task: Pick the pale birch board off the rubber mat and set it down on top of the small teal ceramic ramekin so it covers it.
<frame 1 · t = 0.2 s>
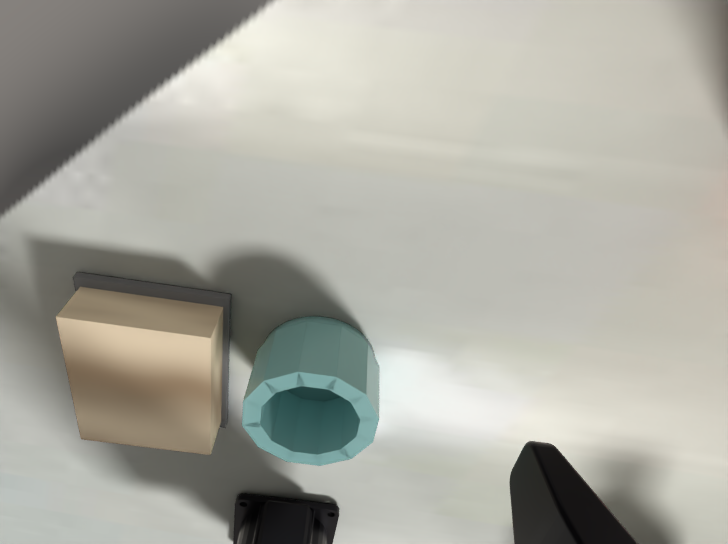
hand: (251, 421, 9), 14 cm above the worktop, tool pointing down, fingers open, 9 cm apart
board: (157, 360, 27), resting on mat
mat: (159, 354, 27), on the worktop
ramekin: (318, 360, 27), on the worktop
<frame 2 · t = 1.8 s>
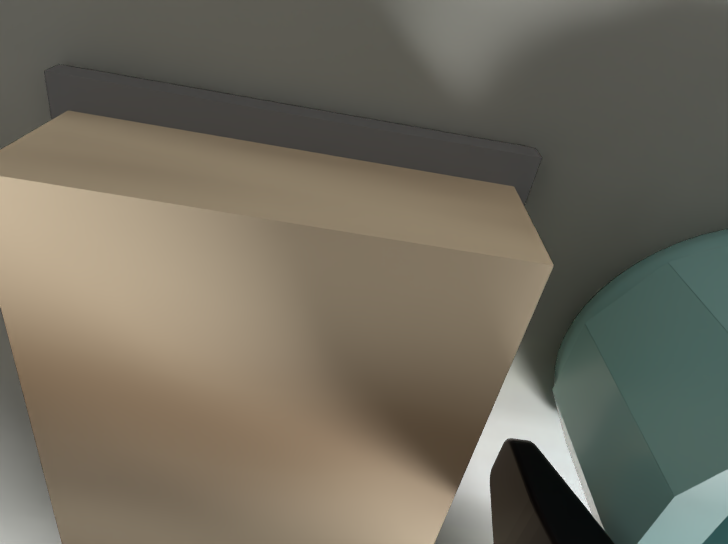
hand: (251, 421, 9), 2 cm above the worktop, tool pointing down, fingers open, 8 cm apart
board: (276, 354, 10), resting on mat
mat: (279, 340, 10), on the worktop
ramekin: (705, 354, 10), on the worktop, touching gripper
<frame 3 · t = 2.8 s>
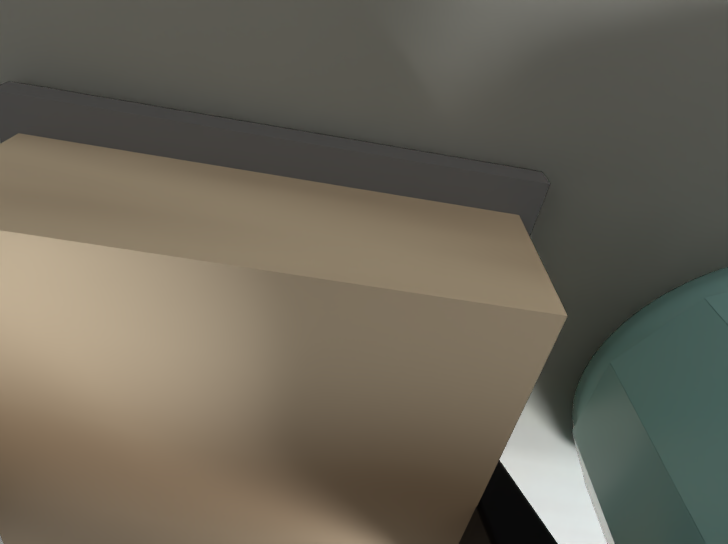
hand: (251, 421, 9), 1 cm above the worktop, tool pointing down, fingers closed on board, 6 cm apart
board: (259, 391, 9), resting on mat, touching gripper
mat: (263, 375, 9), on the worktop
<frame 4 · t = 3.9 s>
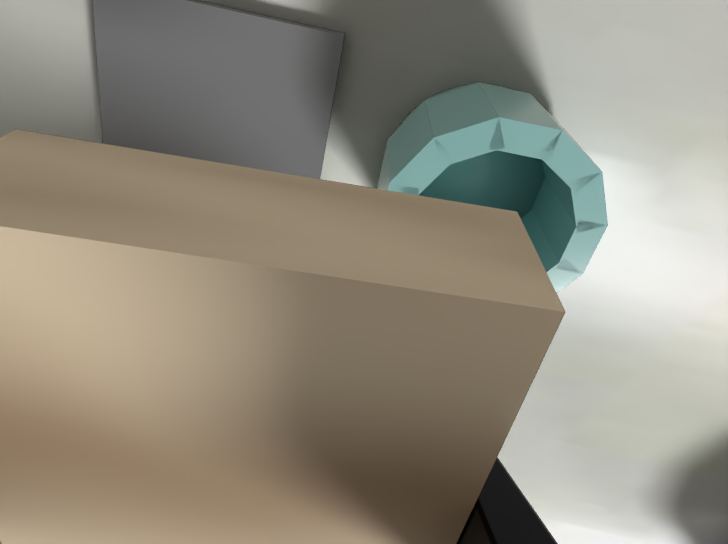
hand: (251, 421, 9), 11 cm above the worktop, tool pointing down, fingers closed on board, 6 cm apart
board: (257, 389, 9), point 10 cm above the worktop, touching gripper
mat: (215, 154, 18), on the worktop
ramekin: (470, 172, 18), on the worktop
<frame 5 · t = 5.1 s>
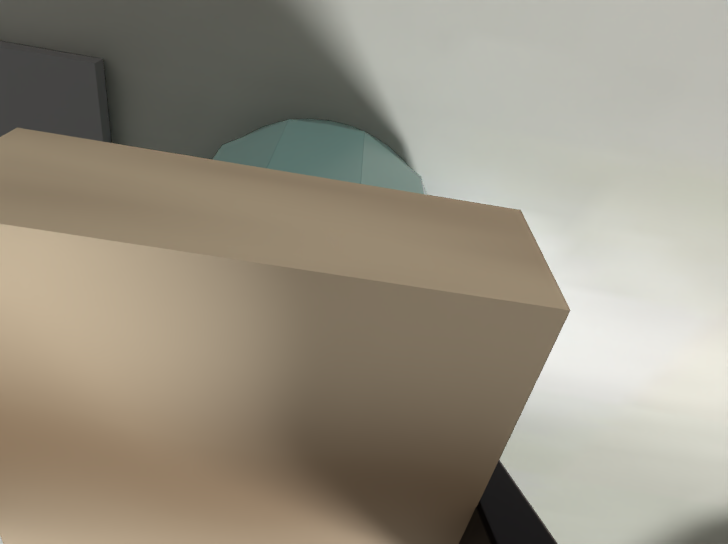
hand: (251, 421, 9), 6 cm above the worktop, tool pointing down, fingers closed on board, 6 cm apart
board: (259, 388, 9), point 5 cm above the worktop, touching gripper
ramekin: (315, 231, 13), on the worktop
when the fingers open (6 cm above the worktop, at t = 5.7 s): board drops 1 cm, resting on ramekin.
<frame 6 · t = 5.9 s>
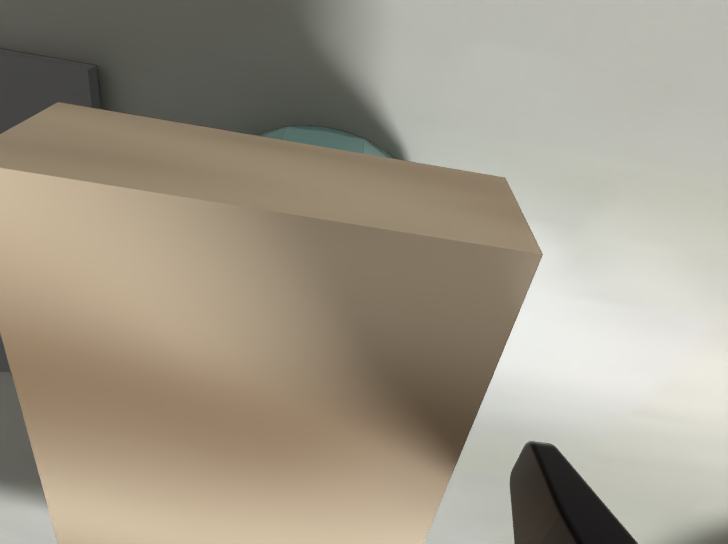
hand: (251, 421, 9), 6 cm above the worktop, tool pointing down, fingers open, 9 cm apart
board: (269, 346, 10), point 4 cm above the worktop, touching ramekin
ramekin: (314, 240, 13), on the worktop, touching board
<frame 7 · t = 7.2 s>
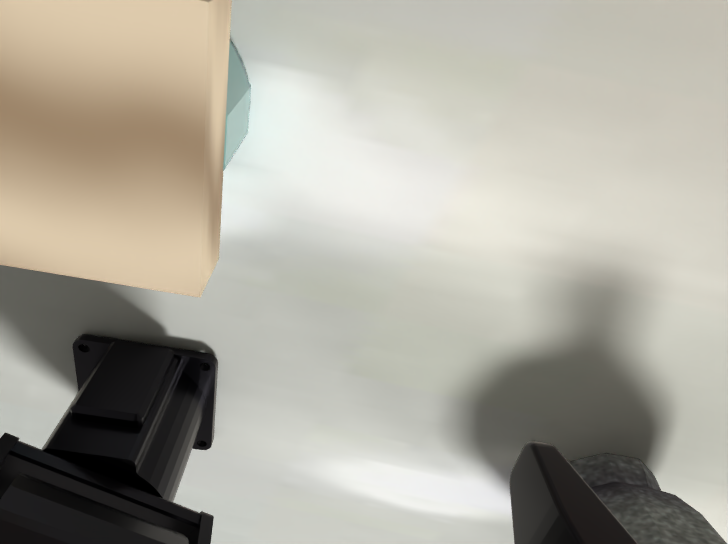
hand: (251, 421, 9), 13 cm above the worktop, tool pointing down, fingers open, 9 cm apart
board: (110, 122, 15), point 4 cm above the worktop, touching ramekin
mortar and pestle: (604, 479, 30), on the worktop
ramekin: (167, 87, 19), on the worktop, touching board
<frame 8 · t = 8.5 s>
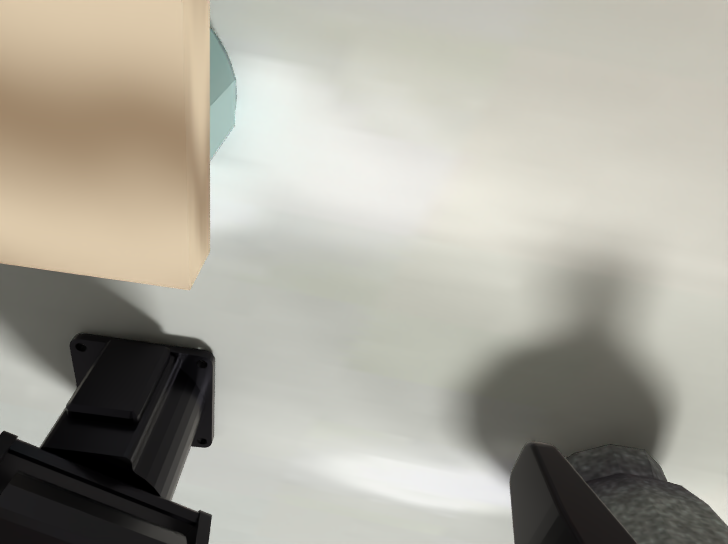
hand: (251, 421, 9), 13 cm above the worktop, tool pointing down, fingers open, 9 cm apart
board: (94, 115, 15), point 4 cm above the worktop, touching ramekin
mortar and pestle: (610, 471, 30), on the worktop
ramekin: (153, 82, 18), on the worktop, touching board
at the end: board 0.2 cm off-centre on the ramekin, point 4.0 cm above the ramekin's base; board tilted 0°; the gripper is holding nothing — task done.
